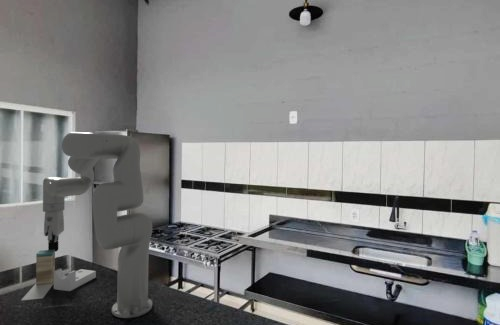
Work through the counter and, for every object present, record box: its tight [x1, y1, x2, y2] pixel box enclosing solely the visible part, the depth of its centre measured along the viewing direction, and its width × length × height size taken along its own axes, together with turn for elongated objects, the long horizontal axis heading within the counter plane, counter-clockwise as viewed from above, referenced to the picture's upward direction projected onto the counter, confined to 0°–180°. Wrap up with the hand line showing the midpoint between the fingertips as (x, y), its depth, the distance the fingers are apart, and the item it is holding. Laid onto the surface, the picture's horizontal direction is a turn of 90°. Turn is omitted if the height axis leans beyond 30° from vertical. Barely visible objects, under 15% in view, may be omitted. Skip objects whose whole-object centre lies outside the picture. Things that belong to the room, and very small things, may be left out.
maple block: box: [35, 249, 56, 285], centre depth 117 cm, size 4×5×12 cm
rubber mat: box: [20, 281, 54, 301], centre depth 113 cm, size 19×6×1 cm, turn 18°
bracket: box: [53, 268, 97, 292], centre depth 117 cm, size 13×7×8 cm, turn 167°
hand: (53, 251), depth 126 cm, fingers closed
